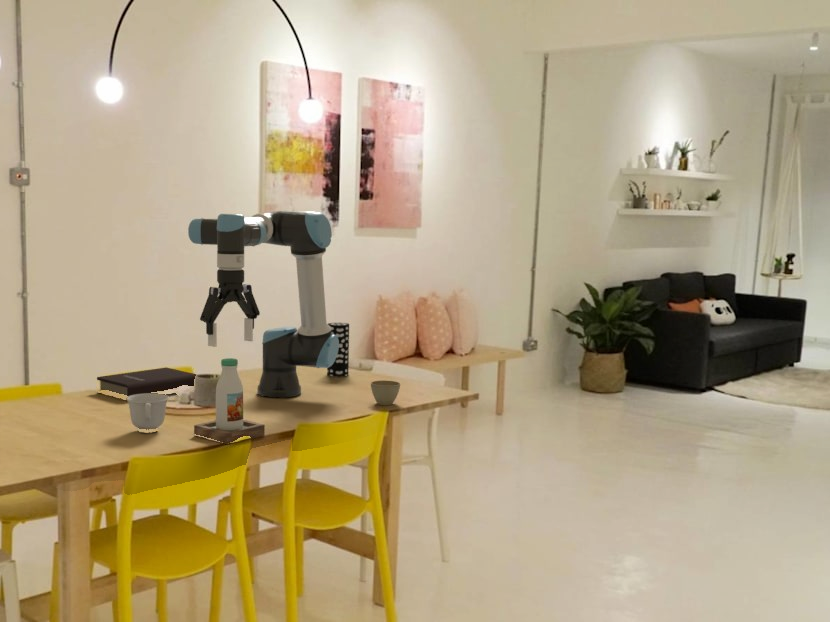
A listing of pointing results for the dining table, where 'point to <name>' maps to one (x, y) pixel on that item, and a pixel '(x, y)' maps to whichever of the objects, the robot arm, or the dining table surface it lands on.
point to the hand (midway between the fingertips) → (230, 343)
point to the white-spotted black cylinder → (340, 350)
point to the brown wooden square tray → (229, 436)
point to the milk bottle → (229, 397)
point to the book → (146, 381)
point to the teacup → (147, 409)
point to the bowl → (385, 391)
